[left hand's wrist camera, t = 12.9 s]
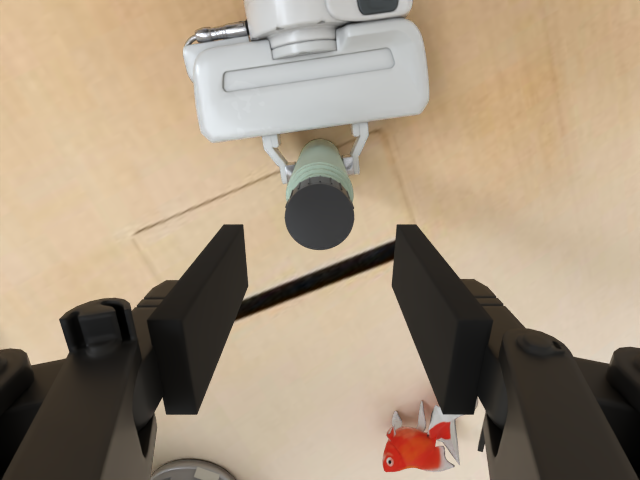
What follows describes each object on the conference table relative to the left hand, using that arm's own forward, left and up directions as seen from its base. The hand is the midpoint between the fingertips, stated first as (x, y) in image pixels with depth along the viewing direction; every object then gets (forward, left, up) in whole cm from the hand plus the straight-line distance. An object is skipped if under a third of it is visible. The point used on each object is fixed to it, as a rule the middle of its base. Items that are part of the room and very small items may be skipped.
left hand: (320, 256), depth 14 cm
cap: (0, 0, -5) cm, 5 cm away
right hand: (-1, 0, -21) cm, 21 cm away
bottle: (0, 0, -27) cm, 27 cm away
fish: (-32, -23, -27) cm, 48 cm away
